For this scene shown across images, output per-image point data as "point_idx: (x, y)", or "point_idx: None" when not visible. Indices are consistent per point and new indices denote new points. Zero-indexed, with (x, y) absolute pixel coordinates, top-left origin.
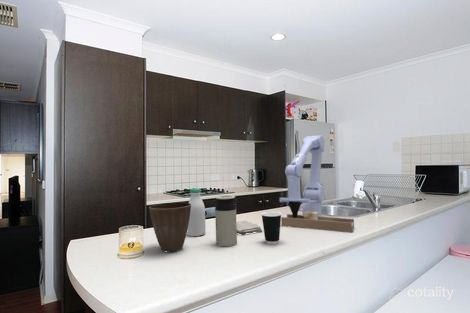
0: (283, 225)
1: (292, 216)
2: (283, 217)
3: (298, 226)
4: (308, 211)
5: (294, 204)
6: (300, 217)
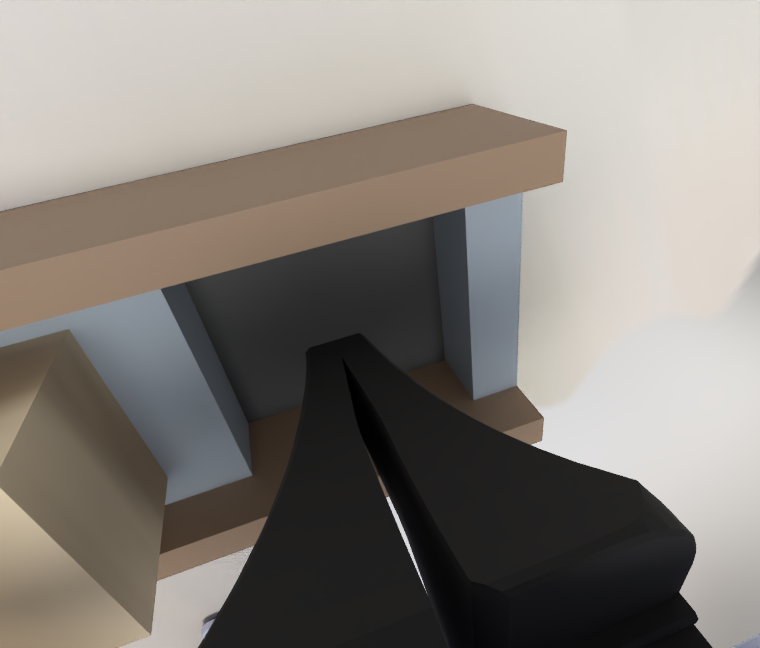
0: (443, 111)
1: None
2: (524, 163)
3: (149, 181)
4: (98, 641)
5: (370, 641)
6: None
